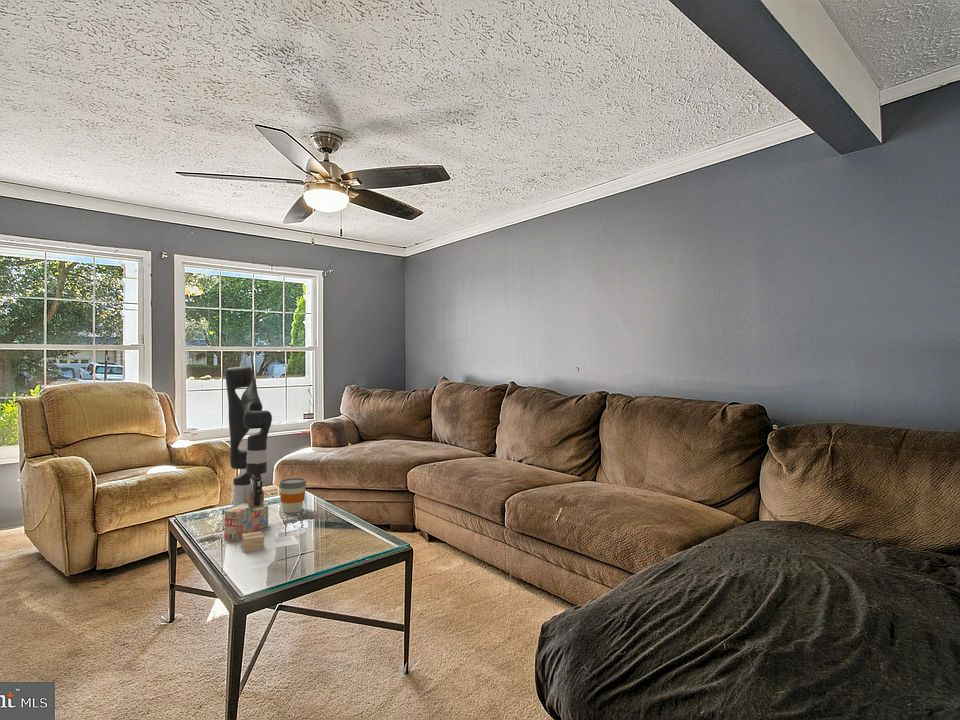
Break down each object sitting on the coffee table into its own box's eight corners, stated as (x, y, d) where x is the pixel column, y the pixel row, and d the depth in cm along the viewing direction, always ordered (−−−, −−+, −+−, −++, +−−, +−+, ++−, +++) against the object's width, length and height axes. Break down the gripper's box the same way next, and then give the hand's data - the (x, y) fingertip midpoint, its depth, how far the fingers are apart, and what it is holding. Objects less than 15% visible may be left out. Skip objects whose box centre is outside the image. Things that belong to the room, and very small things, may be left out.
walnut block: (248, 505, 202) (248, 490, 202) (261, 504, 204) (262, 489, 204) (249, 508, 197) (250, 493, 198) (263, 507, 200) (264, 491, 200)
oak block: (242, 546, 201) (242, 533, 201) (261, 543, 205) (261, 531, 205) (244, 552, 195) (244, 539, 195) (263, 549, 199) (263, 536, 199)
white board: (236, 544, 204) (236, 543, 204) (293, 536, 216) (293, 535, 216) (239, 554, 194) (239, 553, 194) (299, 544, 205) (299, 543, 205)
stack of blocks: (256, 525, 231) (256, 497, 231) (268, 525, 230) (268, 498, 230) (223, 540, 210) (224, 510, 210) (237, 541, 209) (237, 511, 209)
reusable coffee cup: (310, 508, 258) (311, 479, 258) (293, 515, 246) (294, 484, 247) (291, 506, 262) (291, 477, 263) (273, 512, 251) (273, 482, 251)
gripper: (244, 459, 205) (243, 501, 205) (248, 464, 193) (247, 509, 193) (264, 457, 209) (263, 499, 209) (269, 463, 197) (269, 507, 197)
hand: (255, 503), depth 201 cm, fingers closed on walnut block, 5 cm apart
